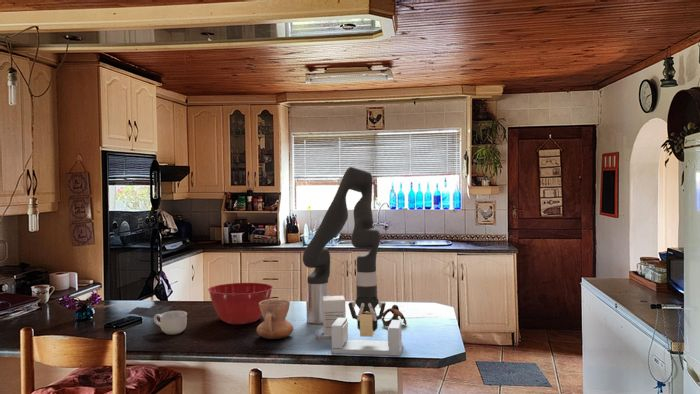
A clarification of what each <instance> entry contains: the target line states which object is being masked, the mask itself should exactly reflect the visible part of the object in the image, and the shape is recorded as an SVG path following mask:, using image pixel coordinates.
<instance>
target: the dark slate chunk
mask: <svg viewBox="0 0 700 394" xmlns="http://www.w3.org/2000/svg"><path fill="white" fill-rule="evenodd" d="M169 311H174V309H173V306H162V305H151V306H150V307H142V306H141V307H139V306H136V307H135V308H133V309H131V310H130V311H129V312H127V315H136V316H140V317H143V318H144V317H145V318H150V319H151V318H152V319H154V316H155V315H156V314H163V313H165V312H169Z"/></svg>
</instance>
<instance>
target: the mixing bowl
mask: <svg viewBox="0 0 700 394" xmlns="http://www.w3.org/2000/svg"><path fill="white" fill-rule="evenodd" d="M272 289H273V286H272V285H271V284H267V283H262V282H235V283H234V282H233V283H224V284H219V285H218V284H217V285H213V286H210V287H209V288H208V289H207V290H208V292H209V296H210V299H211V300H210V301H211V303H212V306H213V308H214V310H215V312H216V314H217V316H218V318H219V319H220V320H221V321H223V322H225V323H226V324H228V325H229V324H230V325H248V324H251V323H254V322H257V321H258V320H260V319H261V317H263V315H262V313H261V310H260V307H259V303H260V302H261V301H264V300H268V299H271V298H270V297H271V293H272Z"/></svg>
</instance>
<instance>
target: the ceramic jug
mask: <svg viewBox="0 0 700 394" xmlns="http://www.w3.org/2000/svg"><path fill="white" fill-rule="evenodd" d="M290 306H291V301H290V300H289V299H286V298H281V299H279V298H269V299H268V300H264V301H261V302H260V303H259V307H260V310H261V313H262V318H263V319H264V320H263V321H262V322H261V323H260V324H258V326H257V327H256V333H257V334H258V336H259V337H261V338H263V339H268V340H269V339H270V340H277V339H280V340H281V339H283V338H287V337H289V336H290V335H291V334H292V333H293V332H294V326H293V324H292V323H291V322H289V321H288V320H287V319H286V318H287V316H288V313H289V310H290Z"/></svg>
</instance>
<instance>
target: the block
mask: <svg viewBox="0 0 700 394" xmlns="http://www.w3.org/2000/svg"><path fill="white" fill-rule="evenodd" d="M375 332H376V331H373V313H371V312H367V311H366V312H362V313H360V331H359V337H361V338H362V337H368V338H372V337H373V336H374V335H375Z"/></svg>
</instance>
